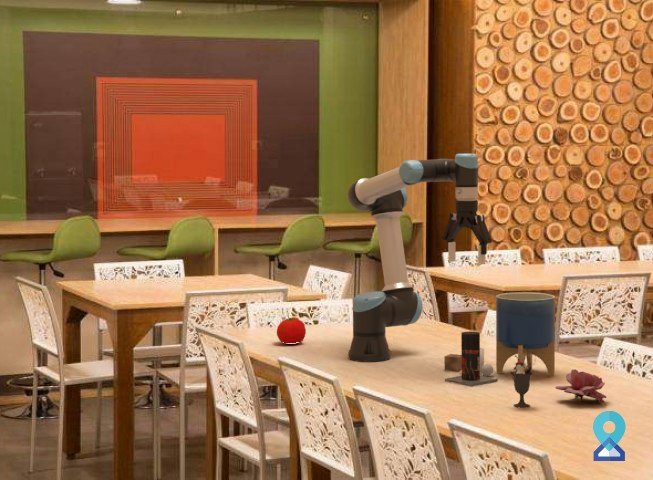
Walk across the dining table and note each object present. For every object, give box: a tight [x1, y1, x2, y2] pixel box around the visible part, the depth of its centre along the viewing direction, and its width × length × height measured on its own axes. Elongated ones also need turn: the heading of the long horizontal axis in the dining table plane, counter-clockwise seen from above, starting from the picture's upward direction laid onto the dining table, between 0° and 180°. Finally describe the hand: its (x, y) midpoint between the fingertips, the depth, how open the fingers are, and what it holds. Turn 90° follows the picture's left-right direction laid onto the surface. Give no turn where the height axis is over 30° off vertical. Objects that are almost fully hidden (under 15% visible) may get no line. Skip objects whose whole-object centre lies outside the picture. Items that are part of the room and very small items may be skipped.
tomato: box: [276, 316, 307, 344], centre depth 479 cm, size 11×13×10 cm
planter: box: [495, 291, 556, 377], centre depth 414 cm, size 19×19×26 cm
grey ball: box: [481, 363, 494, 377], centre depth 413 cm, size 4×4×4 cm
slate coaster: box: [444, 374, 498, 387], centre depth 405 cm, size 12×12×1 cm
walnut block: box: [443, 353, 462, 373], centre depth 425 cm, size 5×5×5 cm
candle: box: [480, 347, 485, 376], centre depth 419 cm, size 7×7×8 cm
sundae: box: [510, 354, 534, 409], centre depth 368 cm, size 7×7×15 cm
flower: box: [554, 369, 607, 405], centre depth 372 cm, size 15×15×10 cm
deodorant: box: [460, 331, 481, 380], centre depth 405 cm, size 6×6×15 cm
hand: (466, 262), depth 420 cm, fingers open, 13 cm apart
